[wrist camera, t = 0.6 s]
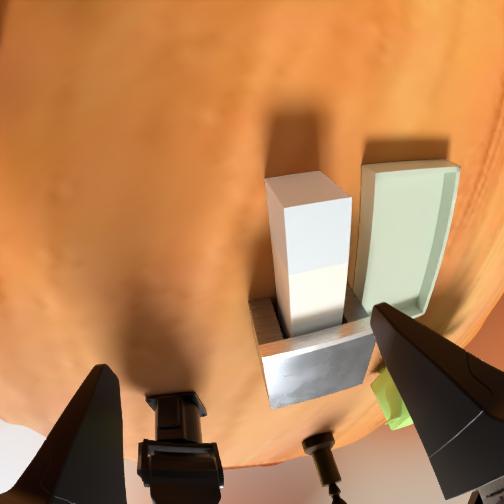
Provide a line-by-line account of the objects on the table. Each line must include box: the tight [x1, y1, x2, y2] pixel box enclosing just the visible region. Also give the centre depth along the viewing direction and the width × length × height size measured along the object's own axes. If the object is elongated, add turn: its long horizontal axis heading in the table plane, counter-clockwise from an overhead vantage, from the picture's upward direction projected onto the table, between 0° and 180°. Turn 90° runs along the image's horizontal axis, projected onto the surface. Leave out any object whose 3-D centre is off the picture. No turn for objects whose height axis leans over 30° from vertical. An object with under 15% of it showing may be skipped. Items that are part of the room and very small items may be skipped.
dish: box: [353, 159, 461, 319], centre depth 24 cm, size 17×9×2 cm, turn 7°
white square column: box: [264, 171, 352, 339], centre depth 21 cm, size 14×4×5 cm, turn 7°
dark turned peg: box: [302, 433, 347, 504], centre depth 42 cm, size 7×6×18 cm
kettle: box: [370, 360, 483, 430], centre depth 32 cm, size 15×14×11 cm
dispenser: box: [248, 282, 376, 409], centre depth 25 cm, size 9×9×7 cm
